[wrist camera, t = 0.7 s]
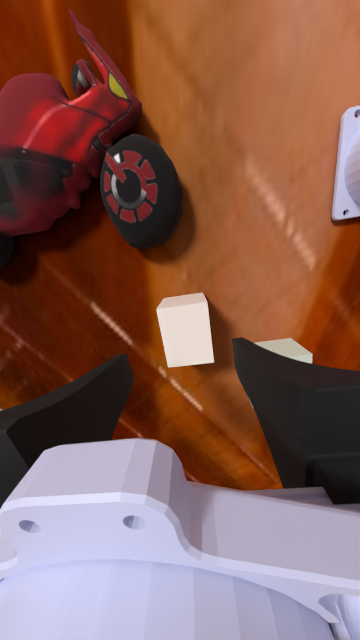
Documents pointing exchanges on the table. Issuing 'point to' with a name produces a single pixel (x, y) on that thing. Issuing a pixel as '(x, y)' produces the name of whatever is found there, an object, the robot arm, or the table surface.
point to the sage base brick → (287, 349)
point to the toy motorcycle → (81, 155)
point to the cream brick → (186, 330)
